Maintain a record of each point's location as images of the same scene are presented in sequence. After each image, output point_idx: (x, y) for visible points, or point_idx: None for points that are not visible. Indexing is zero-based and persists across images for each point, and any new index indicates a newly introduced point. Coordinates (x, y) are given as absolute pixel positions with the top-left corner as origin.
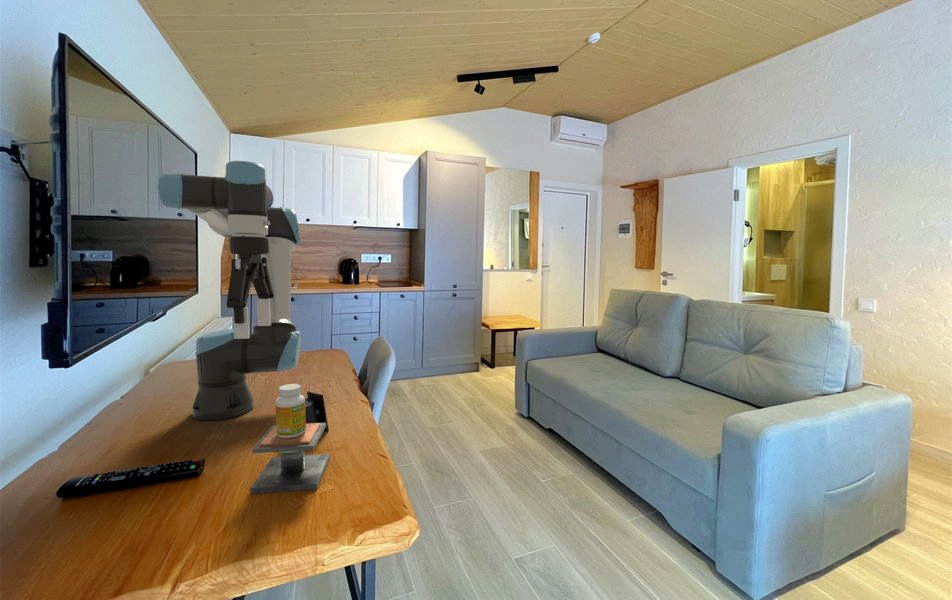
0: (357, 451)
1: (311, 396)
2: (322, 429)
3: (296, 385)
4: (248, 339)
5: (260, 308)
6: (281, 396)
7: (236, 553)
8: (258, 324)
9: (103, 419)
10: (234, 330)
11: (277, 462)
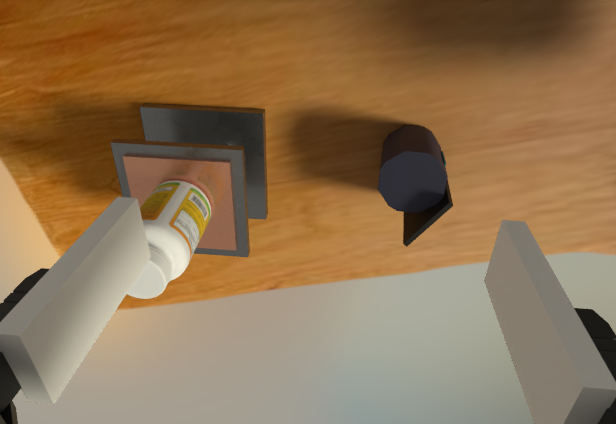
0: (292, 254)
1: (435, 208)
2: (212, 254)
3: (150, 290)
4: None
5: (538, 331)
6: None
7: (3, 132)
8: (504, 229)
9: None
10: (93, 227)
11: (237, 130)
